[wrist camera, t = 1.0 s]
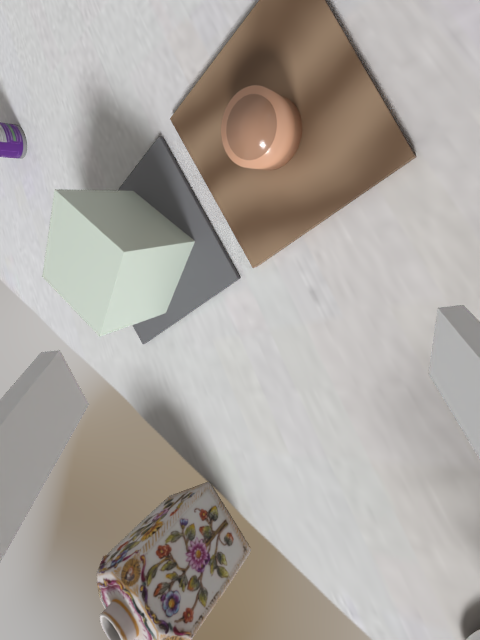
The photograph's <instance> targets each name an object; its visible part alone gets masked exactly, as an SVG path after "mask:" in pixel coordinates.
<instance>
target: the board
mask: <svg viewBox="0 0 480 640" xmlns="http://www.w3.org/2000/svg"><path fill="white" fill-rule="evenodd" d="M252 85H259V86H263V87H266V88H268V89H270V90H272V91H274V92H276V93H278V94H280V95H282V96H284V97H286V98H288V99H289V100H291V101H292V102H293V103H294V104H295V106H296V107H297V109H298V111H299V113H300V116H301V120H302V137H301V141H300V145H299V147H298V149H297V151H296V153H295V155H294V156H293V158H292V159H291V160H290V161H289V162H288V163H287V164H286V165H284V166H283V167H281V168H278V169H276V170H261V169H252V168H245V167H241V166H239V165H237V164H236V163H234V162H233V161H232V160H231V159H230V158H229V156H228V155H227V153H226V151H225V149H224V146H223V143H222V137H221V124H222V119H223V115H224V112H225V109H226V107H227V105H228V103H229V102H230V100H231V99H232V98H233V96H234V95H235V94H236V93H237V92H239V91H240V90H242V89H243V88H245V87H248V86H252ZM170 120H171V121H172V123H173V125H174V127H175V129H176V130H177V132H178V134H179V136H180V138H181V139H182V141H183V143H184V145H185V147H186V148H187V150H188V152H189V154H190V156H191V157H192V159H193V161H194V163H195V165H196V166H197V168H198V170H199V172H200V174H201V175H202V177H203V179H204V181H205V183H206V184H207V186H208V188H209V190H210V192H211V193H212V195H213V197H214V199H215V201H216V202H217V204H218V206H219V208H220V210H221V211H222V213H223V215H224V217H225V219H226V220H227V222H228V224H229V226H230V228H231V229H232V231H233V233H234V235H235V237H236V238H237V240H238V242H239V244H240V246H241V247H242V249H243V251H244V253H245V255H246V256H247V258H248V260H249V262H250V264H251V265H252V267H253V268H254V267H257V266H259V265H260V264H262V263H263V262H264V261H266V260H267V259H269V258H270V257H272V256H273V255H275V254H276V253H278V252H279V251H280V250H282V249H283V248H285V247H286V246H288V245H289V244H291V243H292V242H294V241H295V240H296V239H298V238H299V237H301V236H302V235H304V234H305V233H307V232H308V231H309V230H311V229H312V228H314V227H315V226H317V225H318V224H320V223H321V222H323V221H324V220H325V219H327V218H328V217H330V216H331V215H333V214H334V213H336V212H337V211H339V210H340V209H341V208H343V207H344V206H346V205H347V204H349V203H350V202H352V201H353V200H354V199H356V198H357V197H359V196H360V195H362V194H363V193H365V192H366V191H368V190H369V189H370V188H372V187H373V186H375V185H376V184H378V183H379V182H381V181H382V180H384V179H385V178H386V177H388V176H389V175H391V174H392V173H394V172H395V171H397V170H398V169H400V168H401V167H402V166H404V165H405V164H407V163H408V162H410V161H411V160H413V159H414V158H415V157H416V156H415V154H414V152H413V150H412V149H411V147H410V145H409V144H408V142H407V140H406V138H405V137H404V135H403V133H402V131H401V130H400V128H399V126H398V124H397V123H396V121H395V119H394V118H393V116H392V114H391V112H390V111H389V109H388V107H387V105H386V104H385V102H384V100H383V99H382V97H381V95H380V93H379V92H378V90H377V88H376V86H375V85H374V83H373V81H372V80H371V78H370V76H369V74H368V73H367V71H366V69H365V67H364V66H363V64H362V62H361V61H360V59H359V57H358V55H357V54H356V52H355V50H354V48H353V47H352V45H351V43H350V42H349V40H348V38H347V36H346V35H345V33H344V31H343V29H342V28H341V26H340V24H339V22H338V21H337V19H336V17H335V16H334V14H333V12H332V10H331V9H330V7H329V5H328V3H327V2H326V0H259V1H258V3H257V4H256V5H255V7H254V8H253V9H252V11H251V12H250V13H249V15H248V16H247V17H246V19H245V20H244V21H243V23H242V24H241V25H240V27H239V28H238V29H237V31H236V32H235V33H234V35H233V36H232V37H231V38H230V40H229V41H228V42H227V44H226V45H225V46H224V48H223V49H222V50H221V52H220V53H219V54H218V56H217V57H216V58H215V60H214V61H213V62H212V64H211V65H210V66H209V68H208V69H207V70H206V72H205V73H204V74H203V76H202V77H201V78H200V80H199V81H198V82H197V84H196V85H195V86H194V88H193V89H192V90H191V92H190V93H189V94H188V95H187V97H186V98H185V99H184V101H183V102H182V103H181V105H180V106H179V107H178V109H177V110H176V111H175V113H174V114H173V115H172V117H171V118H170Z"/></svg>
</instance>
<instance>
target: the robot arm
mask: <svg viewBox="0 0 480 640" xmlns="http://www.w3.org/2000/svg"><path fill="white" fill-rule="evenodd" d="M429 375H430V377H431V379H432V380H433V382H434V384H435V385H436V387H437V389H438V390H439V392H440V394H441V395H442V397H443V399H444V400H445V402H446V404H447V406H448V407H449V409H450V411H451V412H452V414H453V416H454V417H455V419H456V421H457V422H458V424H459V426H460V427H461V429H462V431H463V432H464V434H465V436H466V437H467V439H468V441H469V442H470V444H471V446H472V447H473V449H474V451H475V452H476V454H477V456H478V457H479V459H480V322H479V321H478V320H477V319H476V318H475V317H474V315H473V314H472V313H471V312H470V311H469V310H468V309H467V308H466V307H465V306H464V305H459V306H451V307H442V308H438V310H437V317H436V324H435V331H434V338H433V345H432V352H431V360H430V367H429ZM88 405H89V403H88V401H87V400H86V398H85V396H84V394H83V392H82V390H81V388H80V387H79V385H78V383H77V381H76V379H75V377H74V376H73V374H72V372H71V370H70V368H69V366H68V364H67V363H66V361H65V359H64V357H63V355H62V353H61V352H60V350H59V351H51V352H41V353H40V354H39V355H38V356H37V358H36V359H35V360H34V361H33V362H32V364H31V365H30V366H29V367H28V368H27V369H26V370H25V372H24V373H23V374H22V375H21V376H20V377H19V379H18V380H17V381H16V382H15V383H14V385H13V386H12V387H11V388H10V389H9V390H8V391H7V392H6V394H5V395H4V396H3V397H2V398H1V400H0V562H1V560H2V558H3V556H4V555H5V553H6V551H7V549H8V547H9V546H10V544H11V542H12V540H13V539H14V537H15V535H16V533H17V531H18V530H19V528H20V526H21V524H22V522H23V521H24V519H25V517H26V515H27V514H28V512H29V510H30V508H31V506H32V504H33V503H34V501H35V499H36V498H37V496H38V494H39V492H40V490H41V489H42V487H43V485H44V483H45V482H46V480H47V478H48V476H49V474H50V473H51V471H52V469H53V467H54V465H55V464H56V462H57V460H58V458H59V457H60V455H61V453H62V451H63V449H64V448H65V446H66V444H67V442H68V441H69V439H70V437H71V435H72V433H73V432H74V430H75V428H76V426H77V424H78V423H79V421H80V419H81V417H82V415H83V414H84V412H85V410H86V408H87V407H88Z"/></svg>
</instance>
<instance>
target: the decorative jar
mask: <svg viewBox="0 0 480 640" xmlns="http://www.w3.org/2000/svg"><path fill="white" fill-rule="evenodd" d="M250 551H251V548H250V546H249V544H248V543H247V541H246V540H245V538H244V536H243V535H242V533H241V531H240V530H239V528H238V527H237V525H236V523H235V522H234V520H233V519H232V517H231V515H230V514H229V512H228V510H227V509H226V507H225V506H224V504H223V503H222V501H221V499H220V498H219V496H218V495H217V493H216V491H215V490H214V488H213V486H212V485H211V483H210V482H206V483H204V484H201V485H198V486H195V487H193V488H190V489H187V490H184V491H182V492H179V493H177V494H174V495H171V496H169V497H168V498H167V499H166V500H164V501H163V502H162V503H161V504H160V505H159V506H158V507H157V508H156V509H155V510H153V511H152V512H151V513H150V514H149V515H148V516H147V517H146V518H145V519H144V520H143V521H142V522H140V523H139V524H138V525H137V526H136V527H135V528H134V529H133V530H132V531H131V532H130V533H129V534H128V535H127V536H126V537H125V538H124V539H123V540H122V541H120V542H119V543H118V544H117V545H116V546H115V547H114V548H113V549H112V550H111V551H110V552H109V553H108V554H107V555H106V556H104V557H103V558H102V561H101V563H100V566H99V569H98V571H97V586H98V591H99V597H100V600H101V602H102V604H103V606H104V608H105V610H104V611H103V612H102V613H101V615H100V622H101V625H102V627H103V630H104V632H105V633H106V635H107V637H108V638H109V640H192V638H193V636H194V635H195V634H196V632H197V631H198V629H199V628H200V626H201V625H202V623H203V622H204V620H205V619H206V618H207V616H208V615H209V613H210V612H211V610H212V609H213V608H214V606H215V605H216V603H217V602H218V600H219V599H220V597H221V596H222V595H223V593H224V592H225V590H226V589H227V587H228V586H229V584H230V582H231V581H232V580H233V578H234V577H235V575H236V574H237V572H238V571H239V569H240V567H241V566H242V564H243V563H244V562H245V560H246V558H247V557H248V555H249V553H250Z"/></svg>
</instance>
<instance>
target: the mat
mask: <svg viewBox="0 0 480 640" xmlns="http://www.w3.org/2000/svg"><path fill="white" fill-rule="evenodd" d="M118 191H134V192H135V193H136V194H138V195H139V196H140V197H141V198H143V199H144V200H145V201H146V202H148V203H149V204H150V205H151V206H152V207H154V208H155V209H156V210H157V211H159V212H160V213H161V214H162V215H163V216H165V217H166V218H167V219H168V220H170V221H171V222H172V223H173V224H175V225H176V226H177V227H178V228H179V229H181V230H182V231H183V232H184V233H186V234H187V235H188V236H189V237H190V238H192V239H193V240H194V241H195V243H194V245H193V247H192V250H191V252H190V255H189V257H188V260H187V262H186V265H185V267H184V270H183V272H182V275H181V277H180V279H179V282H178V284H177V287H176V289H175V292H174V294H173V297H172V299H171V302H170V304H169V306H168V309H167V311H166V313H165V314H162V315H159V316H156V317H154V318H151V319H148V320H145V321H142V322H140V323H137V324H134V325H133V327H134V329H135V331H136V333H137V334H138V336H139V338H140V340H141V342H142V344H145V343H147V342H148V341H150V340H151V339H153V338H154V337H156V336H157V335H158V334H160V333H161V332H163V331H164V330H166V329H167V328H169V327H170V326H172V325H173V324H174V323H176V322H177V321H179V320H180V319H182V318H183V317H185V316H186V315H187V314H189V313H190V312H192V311H193V310H195V309H196V308H198V307H199V306H201V305H202V304H203V303H205V302H206V301H208V300H209V299H211V298H212V297H214V296H215V295H217V294H218V293H219V292H221V291H222V290H224V289H225V288H227V287H228V286H230V285H231V284H233V283H234V282H235V281H237V280H238V279H240V276H239V274H238V272H237V271H236V269H235V267H234V265H233V263H232V262H231V260H230V258H229V256H228V254H227V252H226V251H225V249H224V247H223V245H222V243H221V242H220V240H219V238H218V236H217V234H216V233H215V231H214V229H213V227H212V225H211V224H210V222H209V220H208V218H207V216H206V215H205V213H204V211H203V209H202V207H201V205H200V204H199V202H198V200H197V198H196V196H195V195H194V193H193V191H192V189H191V187H190V186H189V184H188V182H187V180H186V178H185V177H184V175H183V173H182V171H181V169H180V168H179V166H178V164H177V162H176V160H175V158H174V157H173V155H172V153H171V151H170V149H169V148H168V146H167V144H166V142H165V140H164V139H163V137H161V136H159V137H158V138H157V140H156V141H155V142H154V144H153V145H152V146H151V147H150V149H149V150H148V151H147V153H146V154H145V155H144V157H143V158H142V159H141V161H140V162H139V163H138V165H137V166H136V167H135V169H134V170H133V171H132V172H131V174H130V175H129V176H128V178H127V179H126V180H125V182H124V183H123V184H122V186H121V187H120V188H119V190H118Z"/></svg>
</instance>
